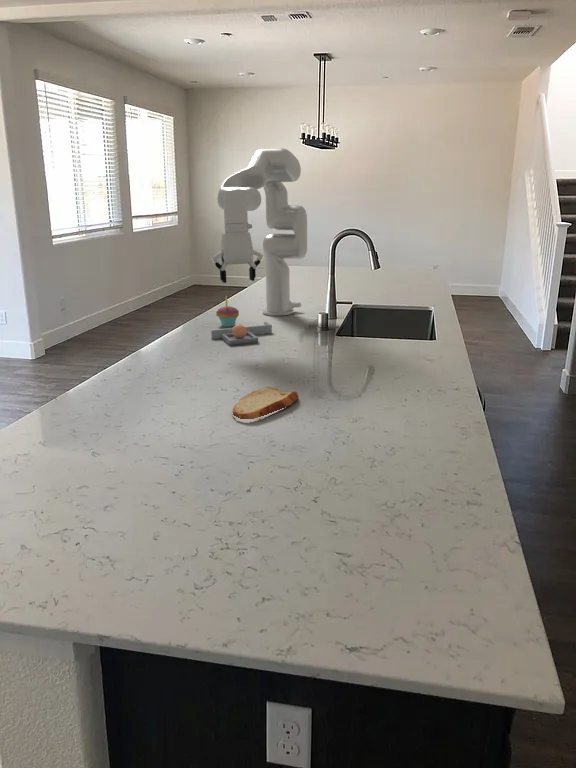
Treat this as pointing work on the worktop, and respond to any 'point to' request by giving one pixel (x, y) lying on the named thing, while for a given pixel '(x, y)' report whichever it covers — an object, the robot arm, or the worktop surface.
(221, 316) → the cupcake
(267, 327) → the wall
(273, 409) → the bread slice
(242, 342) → the dish
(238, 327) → the ball
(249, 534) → the worktop surface
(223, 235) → the robot arm
